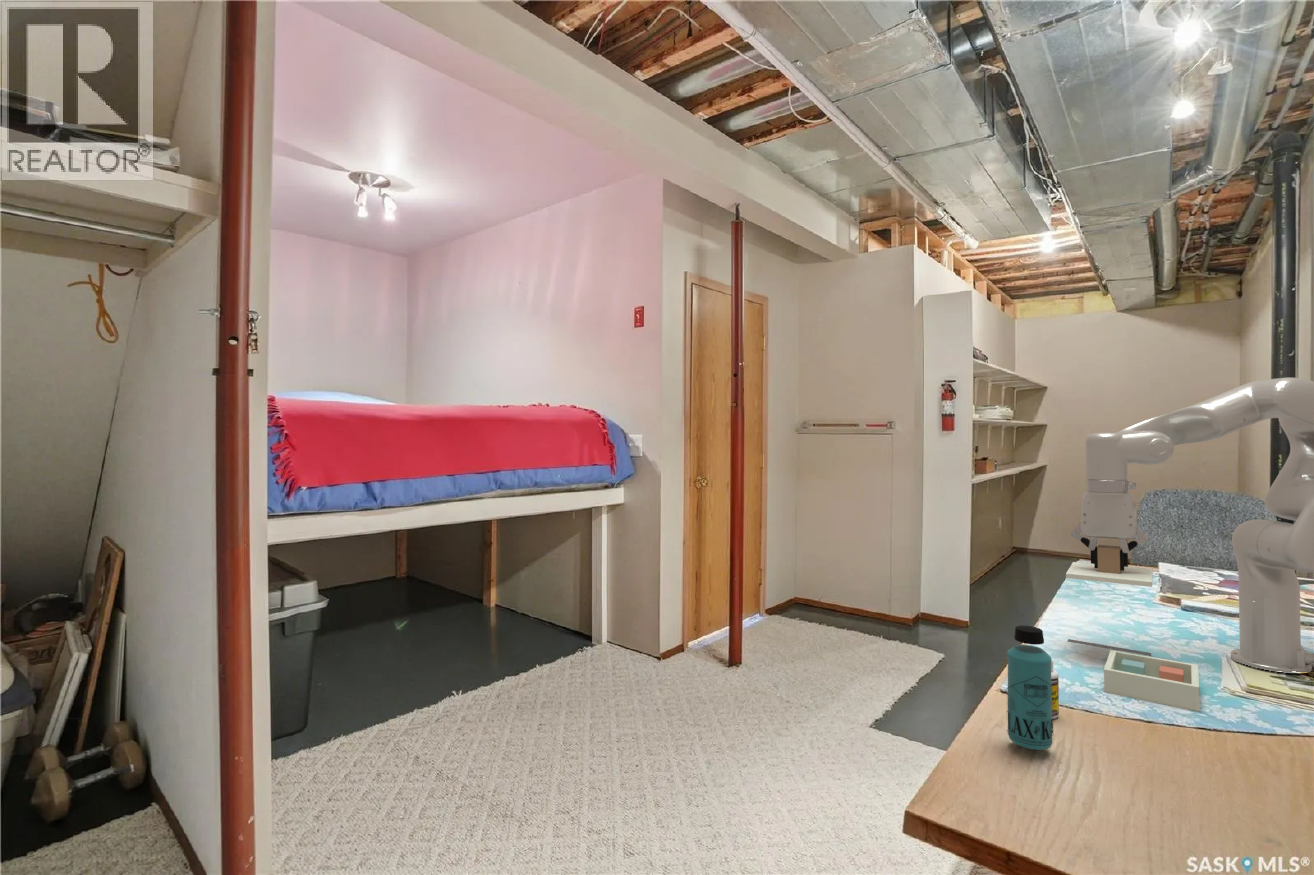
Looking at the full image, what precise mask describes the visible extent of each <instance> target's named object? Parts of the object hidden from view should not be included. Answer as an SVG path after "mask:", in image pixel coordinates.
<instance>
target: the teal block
mask: <svg viewBox="0 0 1314 875" xmlns="http://www.w3.org/2000/svg"><path fill="white" fill-rule="evenodd" d="M1121 668H1122V671H1124V672H1129V673H1135V674H1140V675H1145V663H1143V662H1138V661H1132V660H1127V659H1123V660H1122V664H1121Z"/></svg>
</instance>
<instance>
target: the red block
mask: <svg viewBox="0 0 1314 875" xmlns="http://www.w3.org/2000/svg"><path fill="white" fill-rule="evenodd" d="M1159 678H1161V679H1167V680H1172V681H1177V682H1183V683H1184V672H1183V669H1177V668H1172V667H1166V666H1160V670H1159Z"/></svg>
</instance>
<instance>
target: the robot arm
mask: <svg viewBox="0 0 1314 875" xmlns="http://www.w3.org/2000/svg"><path fill="white" fill-rule="evenodd" d="M1269 419H1278V422H1279V424H1280V427H1281V428H1282V431H1283V432H1284V434H1285V435H1286V438H1287V440H1288V443H1289V447H1290V448H1289V449H1290V450H1289V455H1288V456H1287V458H1286V461H1285V463H1284V465H1283V466H1282V468H1281V470H1280V471H1279V473H1278V475H1277V476H1276V478H1275V480H1273V483H1272V484H1271V485H1270V487H1269V489H1268V490H1267V493H1266V495H1265V497H1264V506H1265V508H1266V510H1267V511H1268V512H1269V513H1270V514H1271V515H1274V516H1276V517H1278V518H1281V519H1286V520H1289V521H1295V522H1294V523H1291V522H1290V523H1289V522H1284V521H1278V520H1277V521H1276V520H1272V519H1262V518H1261V519H1259V518H1258V519H1257V518H1256V519H1250V520H1246V521H1244V522H1243V521H1242V523H1240V524H1239V525H1237V526H1236V528H1234V531H1233V533H1232V536H1231V545H1232V550H1233V554H1234V556H1235V562H1236V566H1237V576H1238V614H1239V615H1238V617H1239V618H1238V620H1239V621H1238V622H1239V623H1238V624H1239V649H1234V650H1232V651H1230V658H1231V659H1232V660H1233V661H1235V662H1236V663H1238V662H1239V664H1241V663H1242V664H1241V665H1243V664H1245V665H1244V666H1246V665H1248V666H1247V667H1249V666H1251V667H1250V668H1253V667H1257V668H1261V669H1264V670H1263V671H1265V670H1269V671H1268V672H1271V671H1282V672H1292V671H1296V672H1310V673H1312V672H1313V666H1312V664H1314V652H1308V651H1307V650H1304V647H1303V646H1302V643H1301V642H1302V638H1301V637H1302V636H1301V632H1302V631H1301V587H1300V586H1301V585H1300V583H1299V578H1298V577H1297V574H1296V571H1297V572H1301V573H1314V381H1313V380H1309V379H1305V378H1304V379H1303V378H1300V377H1292V376H1291V377H1279V378H1271V379H1260V380H1254V381H1251V382H1246V383H1244V384H1242V385H1239V386H1237V387H1234V388H1232V389H1230V390H1227V391H1225V392H1222V393H1219V394H1218V395H1215V396H1213V397H1210V398H1208V399H1207V398H1206V399H1205V400H1203V401H1200V402H1198V403H1195V404H1192V405H1190V406H1186V407H1183V408H1179V409H1176V410H1174V411H1171V412H1168V413H1165V414H1161V415H1158V416H1154V417H1152V418H1149V419H1146V420H1143V421H1139V422H1138V423H1136V424H1133V425H1131V426H1128V427H1125V428H1123V429H1121V430H1119V431H1117V432H1095V433H1093V432H1092V433H1089V434H1087V436H1086V437H1085V467H1086V468H1085V470H1086V492H1083V494H1082V498H1081V499H1082V500H1081V506H1080V522H1079V524H1078V525H1076V527H1075V528H1074V529H1073V531H1072V532H1071V535H1070V536H1071V537H1073V538H1074V539H1076V540H1078V541H1080V542H1081V543H1082V544H1083V545H1084V546H1086V547H1087V548H1088V550H1090V564H1094V568H1098V555H1097V547H1098V545H1097V544H1098V540H1099V538H1101V539H1116V540H1119V544H1120V550H1121V551H1120V570H1121V571H1124V567H1129V552H1131V551H1132V550H1133V549H1135V548H1136V547H1137V546H1140V545H1142V544H1144V543H1147V542H1148V540H1149V538H1148V537H1147V535H1146V534H1145V532H1144V531H1143V530H1142V529H1141V528H1140V526H1138V520H1137V519H1138V518H1137V510H1136V501H1135V498H1134V495H1133V493H1129V491H1130V490H1136V489H1137V483H1136V482H1131V481H1129V476H1128V472H1129V471H1128V464H1135V465H1146V466H1147V465H1148V466H1149V465H1150V466H1151V465H1160V464H1162V463H1165V462H1167V461H1168V460H1169V459H1171V457H1172V456H1173V455H1174V453H1175V446H1178V445H1184V444H1193V443H1194V444H1195V443H1203V442H1208V441H1212V440H1216V439H1220V438H1222V437H1225V436H1227V435H1230V434H1233V433H1234V432H1238V431H1240V430H1241V429H1244V428H1247V427H1250V426H1252V425H1254V424H1257V423H1259V422H1262V421H1265V420H1269ZM1136 536H1137V538H1136ZM1088 537H1090V539H1089V538H1088ZM1134 538H1135V539H1134ZM1131 539H1132V540H1131ZM1128 540H1131V541H1130V542H1129V541H1128ZM1257 668H1256V669H1257ZM1261 669H1260V670H1261ZM1311 671H1312V672H1311Z"/></svg>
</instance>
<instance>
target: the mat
mask: <svg viewBox="0 0 1314 875" xmlns="http://www.w3.org/2000/svg"><path fill="white" fill-rule="evenodd" d="M1067 643H1071V644H1072V643H1074V644H1079V645H1085V646H1091V647H1097V648H1102V649H1109V650H1114V651H1120V652H1126V653H1132V654H1138V655H1143V656H1149V657H1152V653H1151V652H1149V651H1142V650H1136V649H1130V648H1124V647H1118V646H1112V645H1107V644H1100V643H1096V642H1095V643H1094V642H1089V641H1083V640H1077V639H1072V638H1071V639H1070V638H1068V639H1067Z"/></svg>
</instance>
